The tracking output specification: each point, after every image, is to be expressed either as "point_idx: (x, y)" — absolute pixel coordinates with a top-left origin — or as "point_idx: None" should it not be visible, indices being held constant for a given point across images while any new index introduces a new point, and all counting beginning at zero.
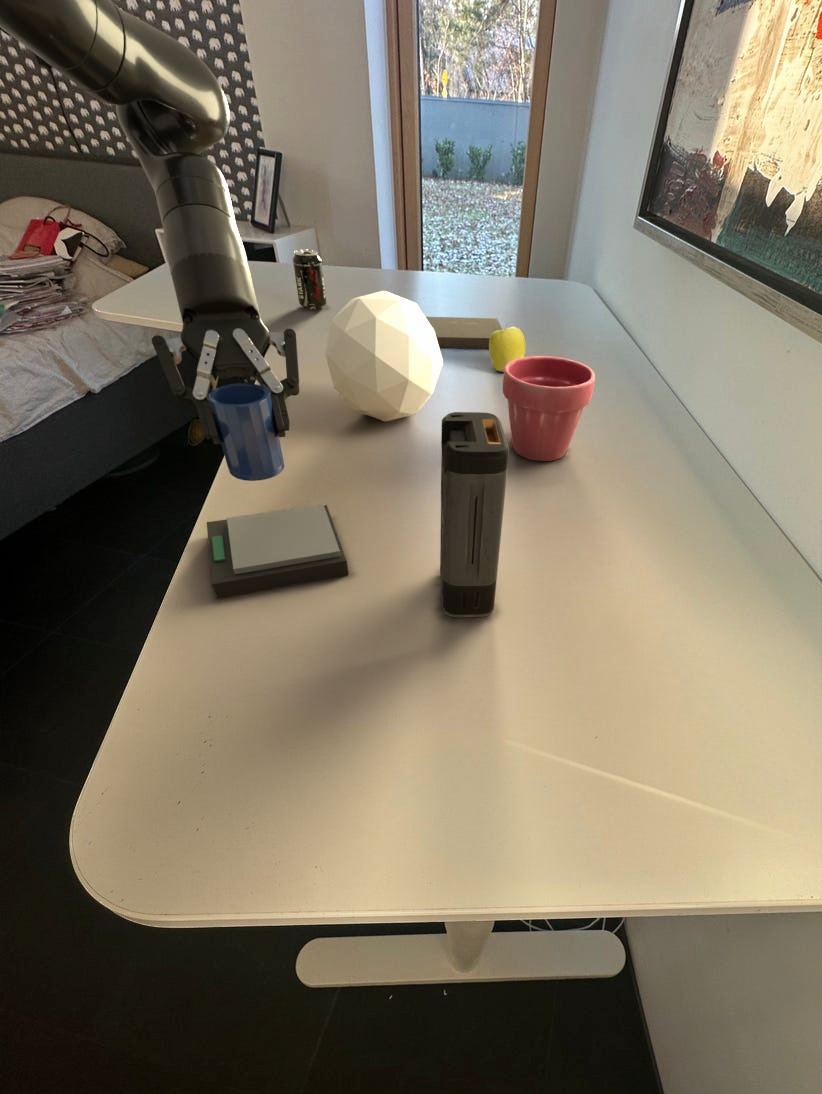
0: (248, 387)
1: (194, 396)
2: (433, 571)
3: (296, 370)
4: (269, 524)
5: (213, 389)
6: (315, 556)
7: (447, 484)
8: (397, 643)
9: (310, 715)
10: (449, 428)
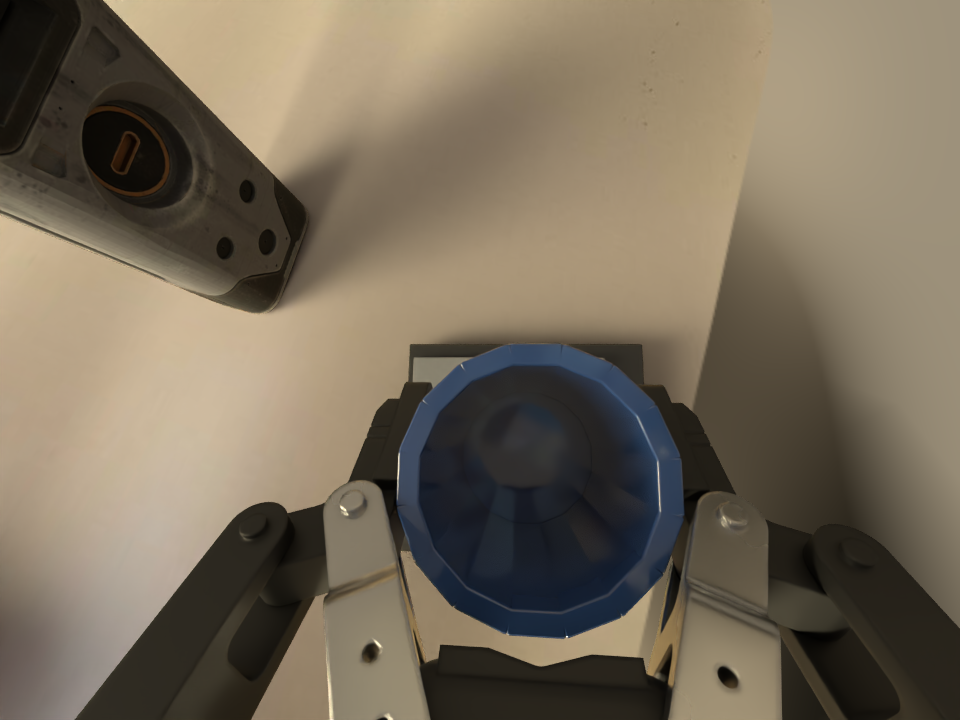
0: (485, 592)
1: (753, 509)
2: (286, 320)
3: (200, 574)
4: None
5: (657, 638)
6: (458, 357)
7: (97, 4)
8: (392, 182)
9: (527, 96)
10: None
